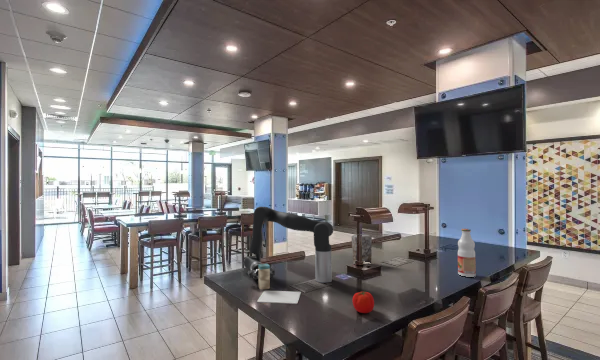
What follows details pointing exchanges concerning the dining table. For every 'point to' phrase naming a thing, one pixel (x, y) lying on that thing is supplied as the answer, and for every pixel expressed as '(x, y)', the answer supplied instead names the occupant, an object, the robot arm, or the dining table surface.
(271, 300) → the grey mat
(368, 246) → the stone block
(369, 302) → the tomato
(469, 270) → the fruit juice
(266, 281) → the beige tall box
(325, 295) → the dining table surface
